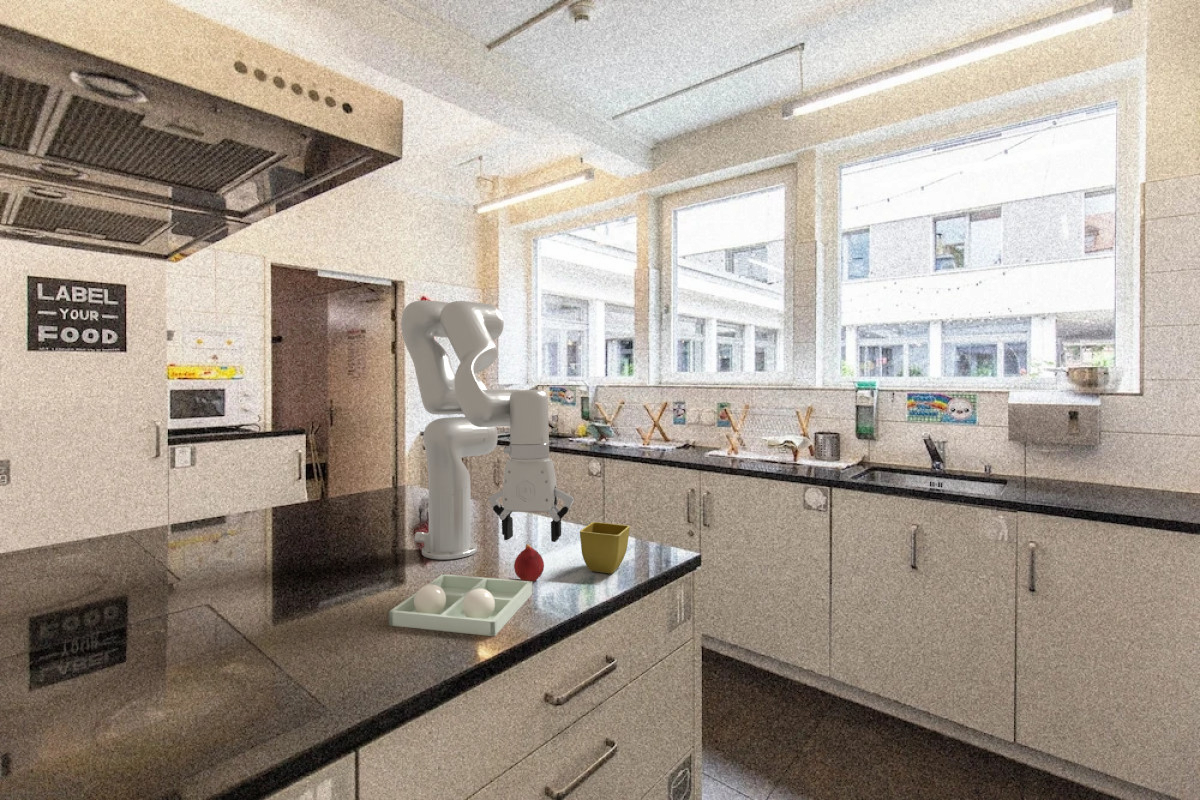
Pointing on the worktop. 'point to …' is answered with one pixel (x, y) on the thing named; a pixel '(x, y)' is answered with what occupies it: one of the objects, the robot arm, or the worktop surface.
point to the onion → (529, 564)
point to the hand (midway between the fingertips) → (531, 539)
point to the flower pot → (604, 546)
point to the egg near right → (478, 604)
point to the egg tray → (452, 616)
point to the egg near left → (430, 599)
